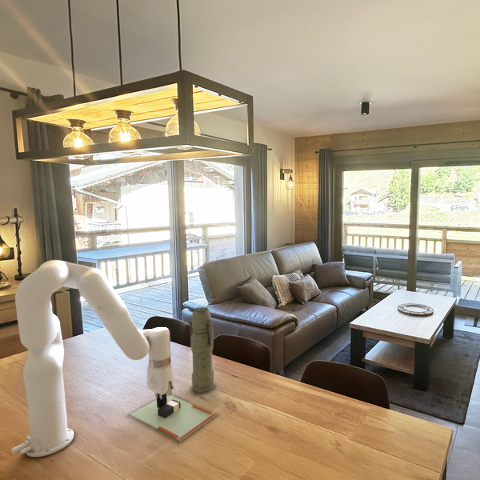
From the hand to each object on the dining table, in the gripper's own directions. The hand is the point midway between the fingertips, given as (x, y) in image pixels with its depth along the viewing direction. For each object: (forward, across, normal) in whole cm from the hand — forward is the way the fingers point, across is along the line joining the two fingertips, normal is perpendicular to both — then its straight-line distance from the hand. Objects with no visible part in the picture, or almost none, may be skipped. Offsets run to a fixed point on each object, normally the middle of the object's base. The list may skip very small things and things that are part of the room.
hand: (162, 406), depth 132 cm
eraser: (+1, +4, 0) cm, 4 cm away
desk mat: (+2, +6, 0) cm, 7 cm away
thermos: (+2, +1, +19) cm, 19 cm away
